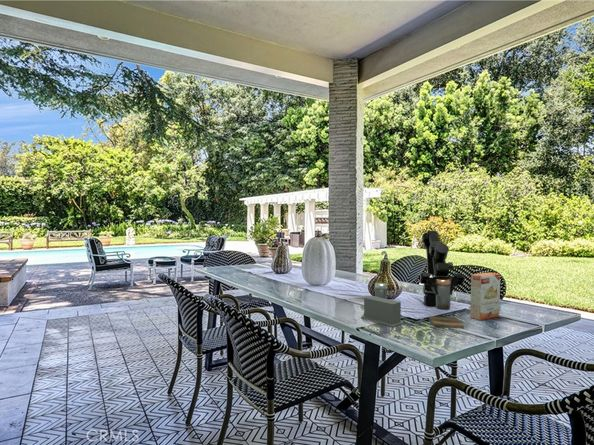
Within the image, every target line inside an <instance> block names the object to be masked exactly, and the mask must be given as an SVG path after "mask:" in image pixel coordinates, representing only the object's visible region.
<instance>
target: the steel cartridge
mask: <svg viewBox="0 0 594 445" xmlns="http://www.w3.org/2000/svg"><path fill="white" fill-rule="evenodd" d="M374 290H375V292H374V296H375V297H380V298H384V299H388V283H386V282H375V283H374Z"/></svg>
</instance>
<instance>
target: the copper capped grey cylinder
mask: <svg viewBox="0 0 594 445" xmlns="http://www.w3.org/2000/svg"><path fill="white" fill-rule="evenodd" d="M436 290H437V295H436V306H435V308H436V309H437V310H441V311H449V310H451V294H450V291H451V280H450V279H444V278H438V279H436Z"/></svg>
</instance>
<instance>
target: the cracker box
mask: <svg viewBox="0 0 594 445" xmlns="http://www.w3.org/2000/svg"><path fill="white" fill-rule="evenodd" d="M470 278H471V279H470V280H471V282H470V308H469V309H470V310H469V311H470V312H469V314H470V315H469V318H471V319H475V320H477V321H483V320H488V319H489V320H490V319H494V318H498V317H500V297H501V296H500V293H501V292H500V291H501V274H500V273H496V272H483V273H482V272H481V273H474V274H471V277H470Z"/></svg>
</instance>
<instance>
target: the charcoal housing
mask: <svg viewBox="0 0 594 445" xmlns="http://www.w3.org/2000/svg"><path fill="white" fill-rule="evenodd" d="M401 304H402V303H401V301H397V300H394V299H390V298H389V299H388V298H387V299H384V298H380V297H375V295H370V296H366V297H364V298H363V315H361V317H360V318H361V319H363V320H366V321H370V322H374V323H376V322H377V324H380V325H383V324H384V326H386V327H390V328H395V327H398V326H401V325H403V324H404V323H405V322H404V321H402V320H401V315H402V314H401V313H402V312H401V311H402V310H401V309H402V307H401V306H402V305H401Z"/></svg>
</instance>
